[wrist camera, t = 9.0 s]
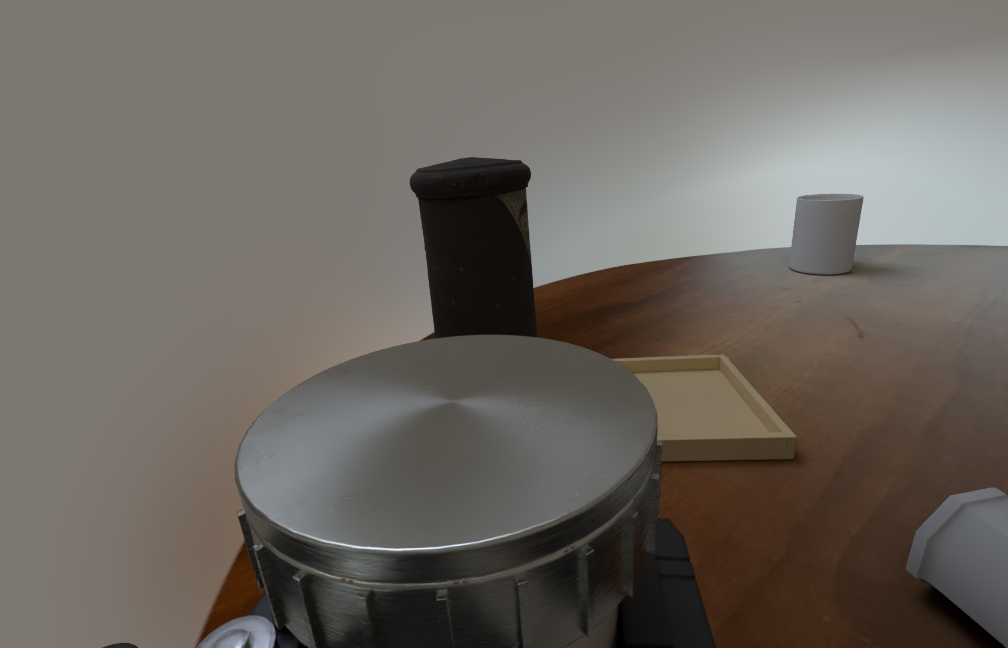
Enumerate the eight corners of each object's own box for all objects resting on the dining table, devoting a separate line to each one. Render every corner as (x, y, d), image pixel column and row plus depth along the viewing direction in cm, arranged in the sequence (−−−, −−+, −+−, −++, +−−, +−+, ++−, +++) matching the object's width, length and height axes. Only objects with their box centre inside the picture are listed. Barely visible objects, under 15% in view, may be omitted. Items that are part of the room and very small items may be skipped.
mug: (860, 275, 68) (874, 198, 64) (797, 275, 70) (807, 201, 66) (829, 256, 79) (839, 190, 75) (775, 257, 81) (783, 193, 77)
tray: (587, 463, 32) (587, 441, 32) (575, 376, 45) (575, 360, 44) (794, 459, 31) (797, 436, 31) (723, 371, 44) (724, 354, 43)
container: (565, 405, 40) (554, 150, 33) (471, 445, 36) (438, 160, 29) (507, 372, 47) (489, 155, 40) (423, 401, 43) (387, 164, 36)
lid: (149, 682, 5) (95, 553, 5) (354, 411, 11) (341, 337, 10) (719, 706, 5) (734, 562, 4) (624, 406, 10) (625, 328, 10)
